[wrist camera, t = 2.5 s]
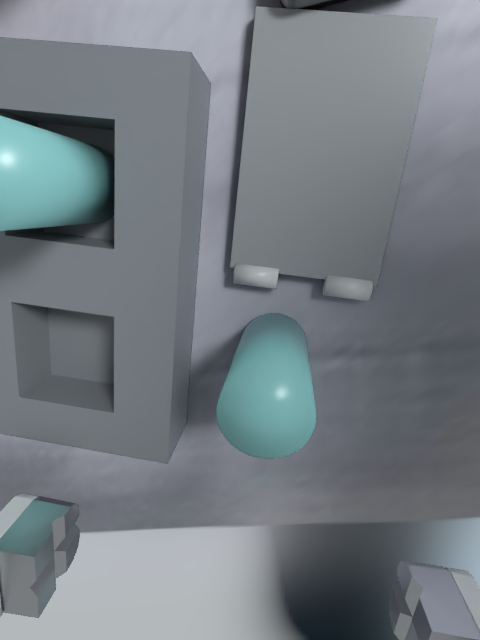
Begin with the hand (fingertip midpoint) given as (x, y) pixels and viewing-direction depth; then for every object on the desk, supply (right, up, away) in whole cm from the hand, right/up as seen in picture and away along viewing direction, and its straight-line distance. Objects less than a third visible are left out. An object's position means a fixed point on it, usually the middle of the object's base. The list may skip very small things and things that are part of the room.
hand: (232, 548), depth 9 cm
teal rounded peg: (-8, +13, +11) cm, 19 cm away
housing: (-8, +9, +13) cm, 18 cm away
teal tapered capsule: (+2, +4, +13) cm, 14 cm away
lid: (+4, +14, +10) cm, 18 cm away
